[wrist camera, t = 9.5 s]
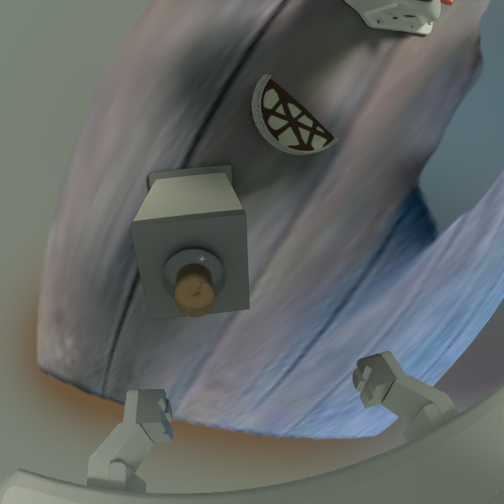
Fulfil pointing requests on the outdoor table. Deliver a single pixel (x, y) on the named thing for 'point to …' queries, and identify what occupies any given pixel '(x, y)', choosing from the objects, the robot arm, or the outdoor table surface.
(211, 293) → the plunger
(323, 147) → the half citrus wheel toy
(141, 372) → the outdoor table surface
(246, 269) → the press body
